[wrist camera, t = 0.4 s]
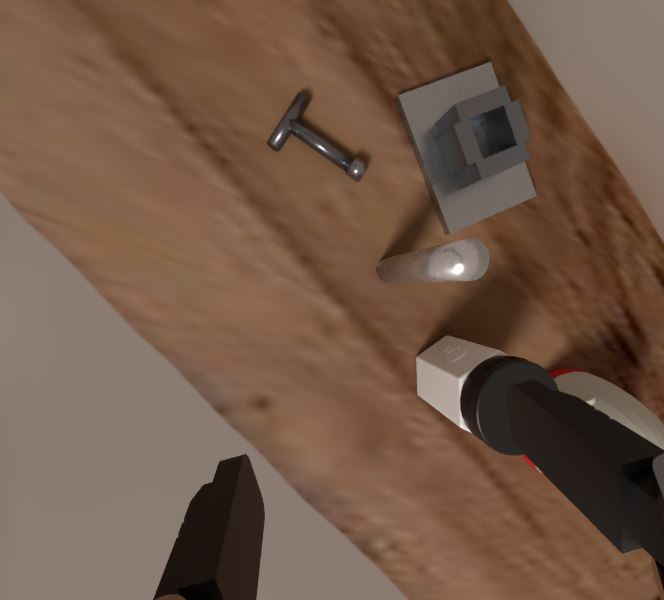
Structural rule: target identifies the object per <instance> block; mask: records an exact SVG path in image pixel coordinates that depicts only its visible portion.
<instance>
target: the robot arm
mask: <svg viewBox="0 0 664 600" xmlns="http://www.w3.org/2000/svg"><path fill="white" fill-rule="evenodd" d="M506 400H507V409H508V418H509V427H510V432H511V435H512V438H513V440H514V442H515V444H516V445H517V447H518V448H519V449H520V451H521V452H522V453H523V454H524V455H525V456H526V457H527V458H528V459H529V460H530V461H531V462H532V463H533V464H534V465H535V466H536V467H537V468H538V469H539V470H540V471H541V472H542V473H543V474H544V475H545V476H546V477H547V478H548V479H549V480H550V481H551V482H552V483H553V484H554V485H555V486H556V487H557V488H558V489H559V490H560V491H561V492H562V493H563V494H564V495H565V496H566V497H567V498H568V499H569V500H570V501H571V502H572V503H573V504H574V505H575V506H576V507H577V508H578V509H579V510H580V511H581V512H582V513H583V514H584V515H585V516H586V517H587V518H588V519H589V520H590V521H591V522H592V523H593V524H594V525H595V526H596V527H597V529H598V530H599V531H600V532H601V533H602V534H603V535H604V536H605V537H606V538H607V539H608V540H609V541H610V542H611V543H612V544H613V545H614V546H615V547H616V548H617V549H618V550H619V551H620V552H621V553H626V552H629V551H632V550H636V549H639V548H643V549H645V550H646V551H647V552H648V553H649V554H650V555H651V556H652V569H653V573H654V577H655V580H656V584H657V588H658V591H659V595H660V599H661V600H664V450H663V449H662V448H660V447H658V446H657V445H655V444H653V443H652V442H650V441H649V440H647V439H645V438H644V437H642V436H640V435H639V434H637V433H636V432H634V431H632V430H631V429H629V428H627V427H626V426H624V425H623V424H621V423H619V422H618V421H616V420H614V419H610V417H609V416H608V415H606V414H605V413H603V412H601V411H600V410H596V409H595V407H593V406H592V405H590V404H588V403H587V402H585V401H583V400H582V399H580V398H579V397H576V396H573V395H570V394H567V393H564V392H561V391H558V390H556V391H553V390H551V389H550V388H548V387H546V386H545V385H543V384H542V383H540V382H539V381H537V380H535V379H528V380H525V381H521V382H517V383H513V384H510V385H507V387H506ZM264 520H265V512H264V503H263V498H262V495H261V492H260V489H259V486H258V483H257V480H256V477H255V474H254V471H253V468H252V465H251V462H250V459H249V457H248V456H247V455H246V454H244V455H241V456H237V457H233V458H230V459H226V460H222V461H220V462H219V465H218V467H217V470H216V473H215V476H214V479H213V482H212V483H208V484H205V485H203V486H202V487H201V489H200V490H199V491H198V493H197V494H196V495H195V496H194V498H193V499H192V500H191V502H190V504H189V507H188V510H187V512H186V515H185V518H184V522H183V523H182V525H181V528H180V531H179V533H178V538H176V541H175V544H174V546H173V549H172V552H171V554H170V557H169V560H168V562H167V565H166V568H165V570H164V573H163V575H162V578H161V581H160V583H159V586H158V588H157V591H156V594H155V596H154V599H153V600H256V596H257V586H258V577H259V567H260V558H261V549H262V540H263V530H264Z"/></svg>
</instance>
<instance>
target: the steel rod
mask: <svg viewBox="0 0 664 600" xmlns="http://www.w3.org/2000/svg"><path fill="white" fill-rule="evenodd" d="M489 260H490V259H489V253H488V250H487V248H486V247H485V245H484V244H483V243H482V242H480V241H479V240H477V239H473V238H468V239H464V240H459V241H455V242H451V243H447V244H442V245H438V246H434V247H430V248H426V249H421V250H417V251H413V252H409V253H404V254H400V255H396V256H392V257H388V258H384V259H382V260H381V261H380V262H379V263H378V265H377V269H376V271H377V275H378V277H379V278H380V279H381V280H382V281H384V282H434V281H473V280H476V279H479V278H480V277H482V276H483V275H484V274H485V272H486V271H487V269H488V266H489Z"/></svg>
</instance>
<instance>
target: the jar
mask: <svg viewBox="0 0 664 600" xmlns="http://www.w3.org/2000/svg"><path fill="white" fill-rule="evenodd" d="M416 364H417V394H418V396H420V397H421V398H422V399H424V400H425V401H426V402H428V403H429V404H430V405H432V406H433V407H434V408H435V409H437V410H438V411H439V412H441V413H442V414H443V415H445V416H446V417H447V418H449V419H450V420H451V421H453V422H454V423H455V424H457V425H458V426H459V427H461V428H462V429H465V430H467V431H469V432H471V433H472V434H474V435H475V436H476V437H477V438H479V439H480V440H481V441H483V442H484V443H485V444H487V445H488V446H489V447H491V448H492V449H494V450H495V451H497V452H499V453H502V454H505V455H512V456H516V455H523V453H522V452H521V451H520V449H519V448H518V447H517V445H516V444H515V442H514V440H513V438H512V435H511V432H510V427H509V418H508V409H507V400H506V387H507V385H510V384H513V383H517V382H521V381H525V380H528V379H535V380H537V381H539V382H540V383H542V384H543V385H545V386H546V387H548V388H550V389H551V390H553V391H556V390H558V391H559V389H558V386H557V384H556V382H555V380H554V379H553V377H552V376H551V374H550V373H549V372H548V371H547V370H545V369H544V368H543V367H541V366H540V365H538V364H536V363H533V362H530V361H527V360H526V359H523V358H519V357H515V356H509V355H507V354H505V353H503V352H502V351H500V350H497V349H494V348H490V347H487V346H483V345H480V344H476V343H473V342H469V341H466V340H462V339H459V338H455V337H452V336H448V335H446V336H445V337H443V338H442V339H441V340H439V341H438V342H436V343H435V344H433V345H432V346H431V347H429V348H428V349H426V350H425V351H424V352H422V353H421V354H419V355H418V356H417V357H416Z"/></svg>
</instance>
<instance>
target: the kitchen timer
mask: <svg viewBox="0 0 664 600" xmlns="http://www.w3.org/2000/svg"><path fill="white" fill-rule="evenodd" d="M549 373H550V374H551V376H552V377H553V379H554V380H555V382H556V384H557V386H558V389H559V391H561V392H564V393H567V394H570V395H573V396H576V397H579V398H580V399H582V400H583V401H585V402H587V403H588V404H590V405H592V406H593V407H595V409H596V410H600V411H601V412H603V413H605V414H606V415H608V416H609V417H610V419H614V420H616V421H618V422H619V423H621V424H623V425H624V426H626V427H627V428H629V429H631V430H632V431H634V432H636V433H637V434H639V435H640V436H642V437H644V438H645V439H647V440H649V441H650V442H652V443H653V444H655V445H657V446H658V447H660V448H662V449H663V450H664V425H663V424H662V423H661V421H660V420H659V419H658V418H657V417H656V416H655V415H654V414H653V413H652V412H651V411H650V410H649V409H647V408H646V407H645V406H644V405H643V404H642V403H641V402H639V401H638V400H637V399H636V398H634V397H633V396H631V395H630V394H628V393H627V392H625V391H624V390H622V389H620V388H619V387H617V386H616V385H614V384H612V383H611V382H609V381H607V380H604V379H602V378H600V377H597V376H595V375H592V374H590V373H587V372H584V371H580V370H577V369H564V368H561V369H558V370H554V371H551V372H549ZM523 457H524V458H525V460H526V461H527V463H529V464H530V465H531V466H533V467H534V468H535V469H537V470H538V471H539V472H541V471H540V470H539V469H538V468H537V467H536V466H535V465H534V464H533V463H532V462H531V461H530V460H529V459H528V458H527V457H526V456H525V455H524V454H523ZM541 473H542V472H541ZM542 474H543V473H542Z"/></svg>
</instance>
